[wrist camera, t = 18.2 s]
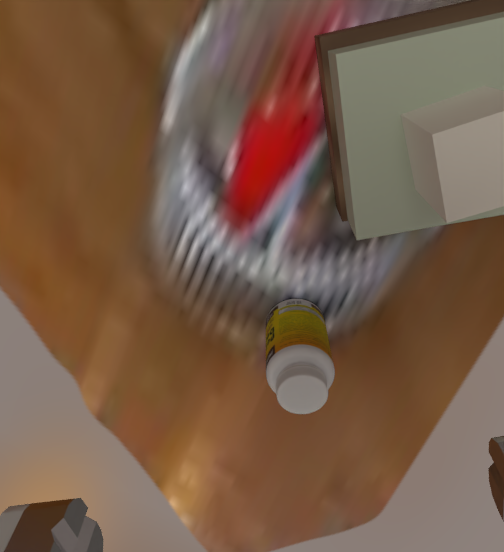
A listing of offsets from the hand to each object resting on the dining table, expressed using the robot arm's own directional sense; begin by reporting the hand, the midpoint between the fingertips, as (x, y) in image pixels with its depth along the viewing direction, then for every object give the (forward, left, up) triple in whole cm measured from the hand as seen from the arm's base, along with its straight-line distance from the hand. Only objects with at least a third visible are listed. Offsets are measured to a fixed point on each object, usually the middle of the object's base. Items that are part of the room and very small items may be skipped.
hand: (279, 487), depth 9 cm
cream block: (+1, +11, -24) cm, 27 cm away
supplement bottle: (+17, -1, -32) cm, 36 cm away
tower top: (0, +11, -28) cm, 30 cm away
